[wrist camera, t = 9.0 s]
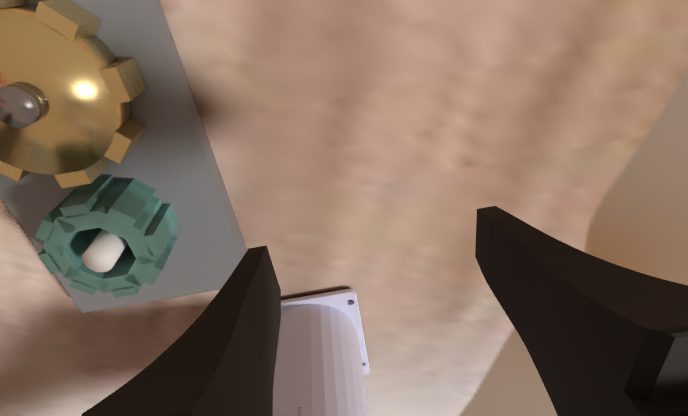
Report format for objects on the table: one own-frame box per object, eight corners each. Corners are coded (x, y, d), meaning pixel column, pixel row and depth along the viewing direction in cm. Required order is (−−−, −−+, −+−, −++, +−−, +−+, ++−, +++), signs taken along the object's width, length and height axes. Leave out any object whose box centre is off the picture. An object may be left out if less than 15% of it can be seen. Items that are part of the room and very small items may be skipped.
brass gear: (173, 154, 20) (154, 180, 18) (17, 181, 20) (-24, 211, 18) (98, -29, 16) (59, -29, 13) (-99, 6, 16) (-175, 12, 13)
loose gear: (192, 252, 24) (178, 286, 21) (98, 268, 24) (73, 305, 21) (154, 167, 21) (133, 195, 18) (47, 185, 21) (10, 216, 18)
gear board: (253, 268, 26) (244, 326, 22) (92, 296, 26) (52, 359, 22) (142, -46, 17) (89, -52, 13) (-107, -3, 17) (-244, 6, 13)
